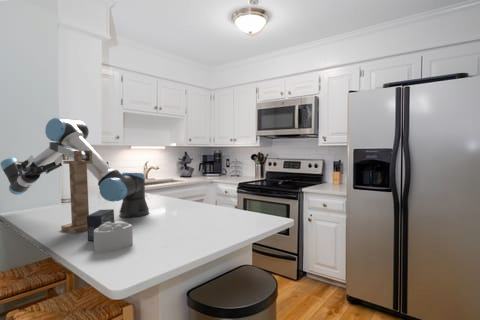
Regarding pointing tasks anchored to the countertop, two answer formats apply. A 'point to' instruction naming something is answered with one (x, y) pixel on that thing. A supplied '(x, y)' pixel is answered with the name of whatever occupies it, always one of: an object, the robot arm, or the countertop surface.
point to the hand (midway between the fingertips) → (47, 157)
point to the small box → (98, 221)
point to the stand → (78, 192)
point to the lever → (65, 150)
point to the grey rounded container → (112, 236)
